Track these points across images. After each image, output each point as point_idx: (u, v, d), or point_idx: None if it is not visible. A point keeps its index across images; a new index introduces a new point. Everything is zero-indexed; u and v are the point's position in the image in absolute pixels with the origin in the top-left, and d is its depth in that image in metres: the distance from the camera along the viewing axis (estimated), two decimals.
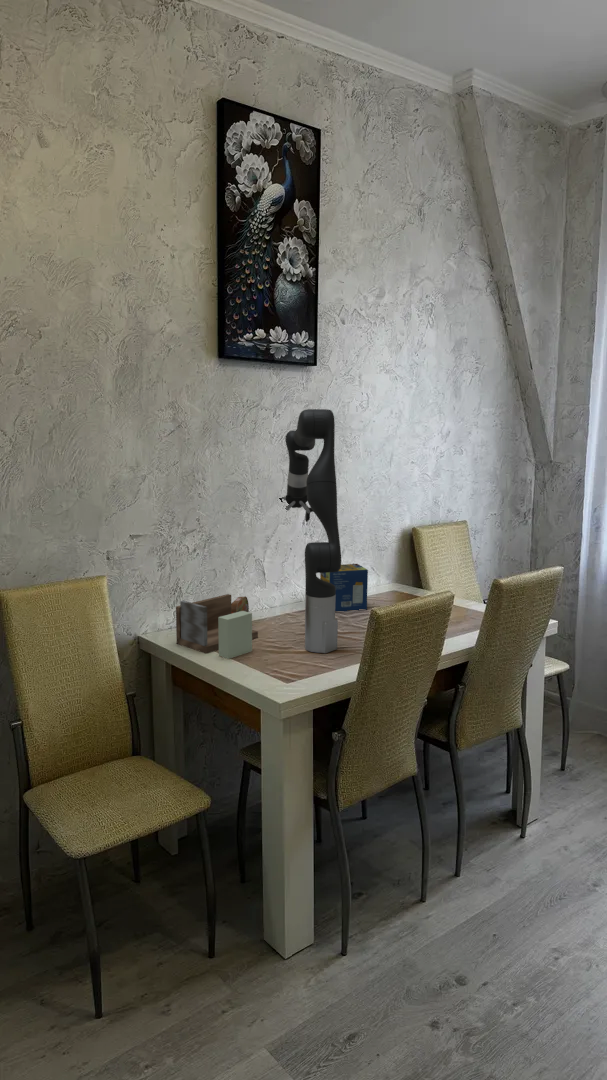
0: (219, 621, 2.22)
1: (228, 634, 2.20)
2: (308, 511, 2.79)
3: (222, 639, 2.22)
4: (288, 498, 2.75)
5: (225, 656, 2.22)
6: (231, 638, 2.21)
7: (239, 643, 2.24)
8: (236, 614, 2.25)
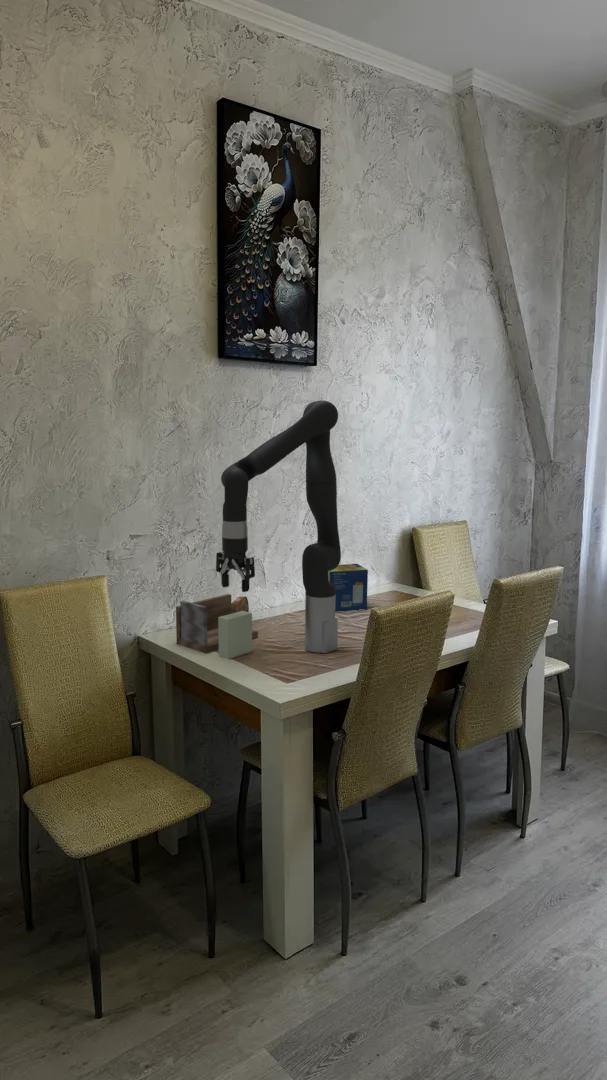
0: (219, 621, 2.22)
1: (228, 634, 2.20)
2: None
3: (222, 639, 2.22)
4: None
5: (225, 656, 2.22)
6: (231, 638, 2.21)
7: (239, 643, 2.24)
8: (236, 614, 2.25)
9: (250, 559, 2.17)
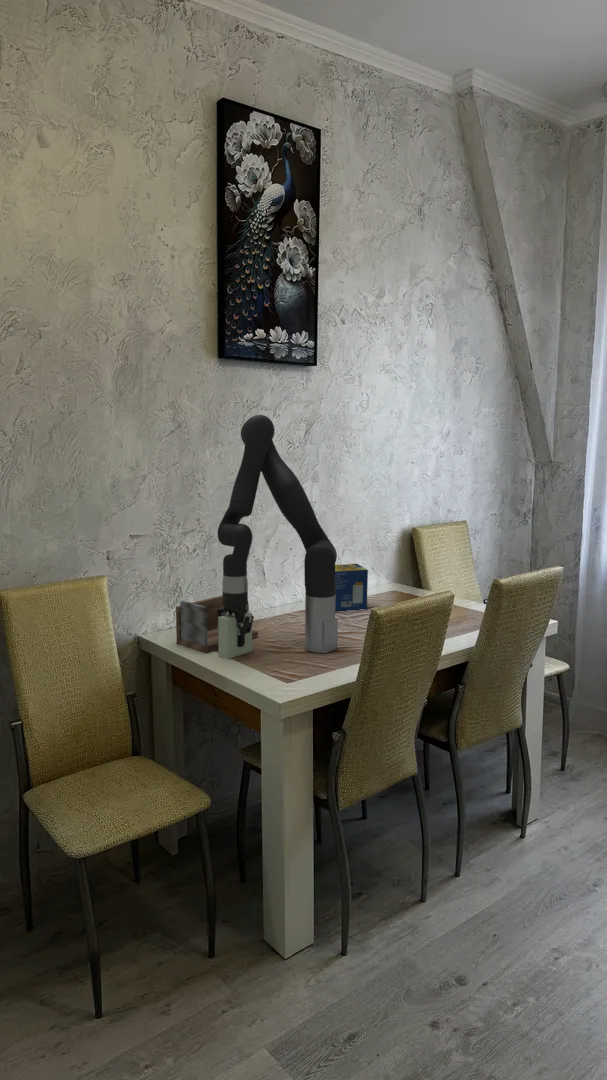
0: (219, 621, 2.22)
1: (228, 634, 2.20)
2: None
3: (222, 639, 2.22)
4: None
5: (225, 656, 2.22)
6: (231, 638, 2.21)
7: None
8: None
9: (250, 618, 2.20)
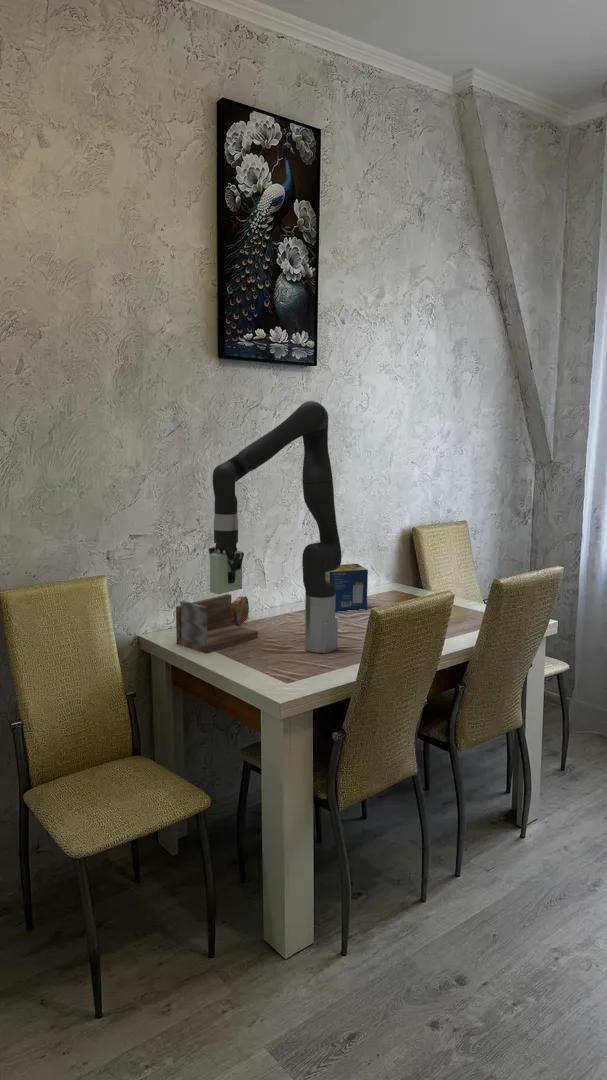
0: (210, 557, 2.30)
1: (219, 570, 2.29)
2: None
3: (213, 575, 2.30)
4: None
5: (216, 592, 2.31)
6: (222, 574, 2.30)
7: None
8: None
9: (240, 555, 2.28)
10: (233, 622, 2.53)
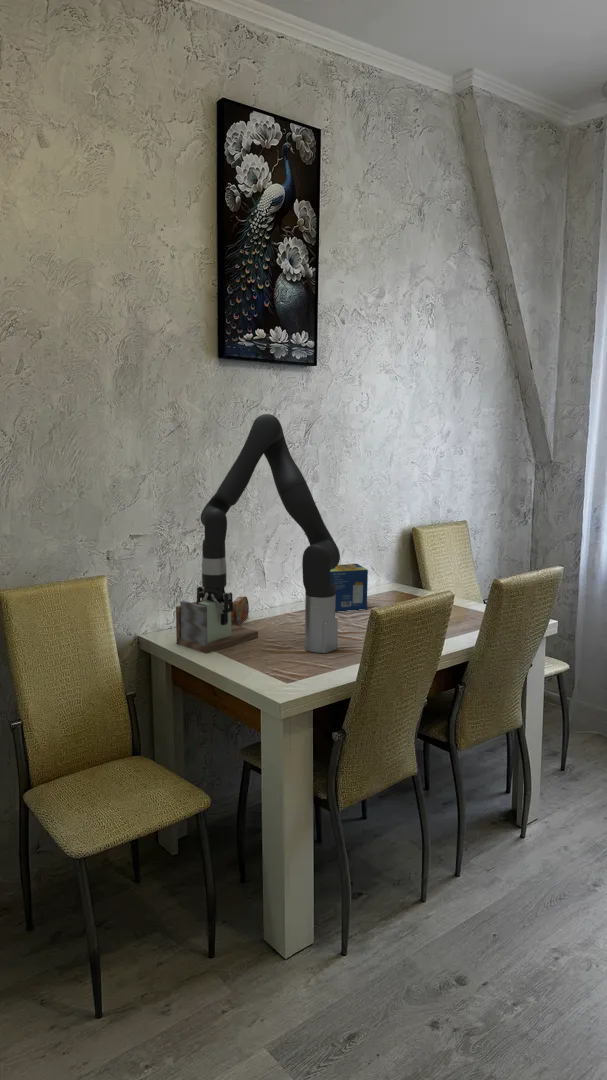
0: None
1: (208, 619, 2.29)
2: None
3: None
4: None
5: None
6: (210, 622, 2.30)
7: (218, 628, 2.33)
8: None
9: (228, 594, 2.28)
10: (233, 622, 2.53)
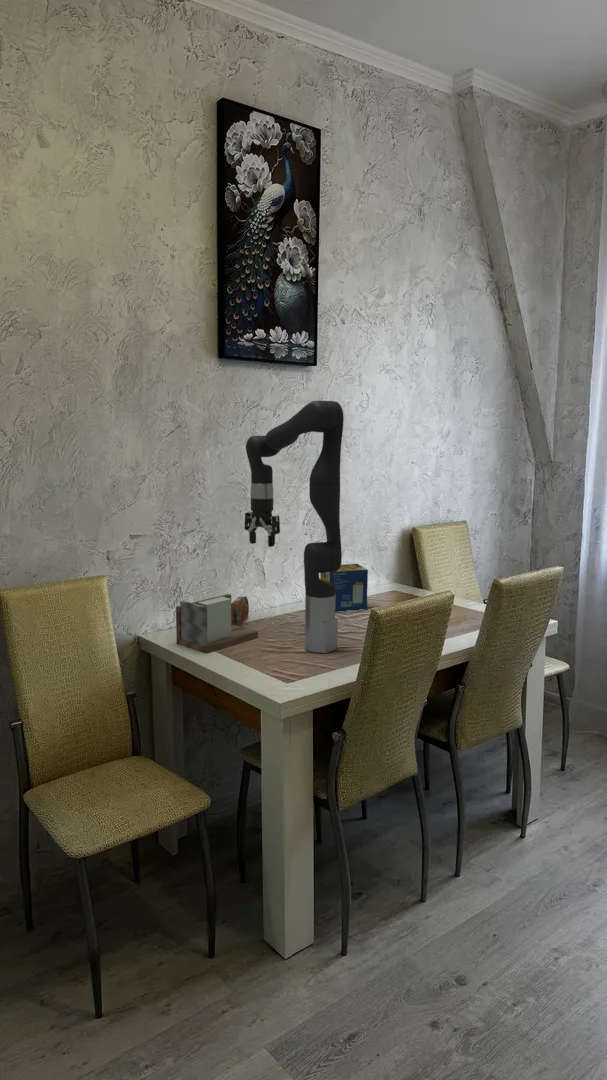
0: None
1: (208, 619, 2.29)
2: None
3: None
4: None
5: None
6: (210, 622, 2.30)
7: (218, 628, 2.33)
8: (215, 600, 2.34)
9: (276, 517, 2.44)
10: (233, 622, 2.53)
